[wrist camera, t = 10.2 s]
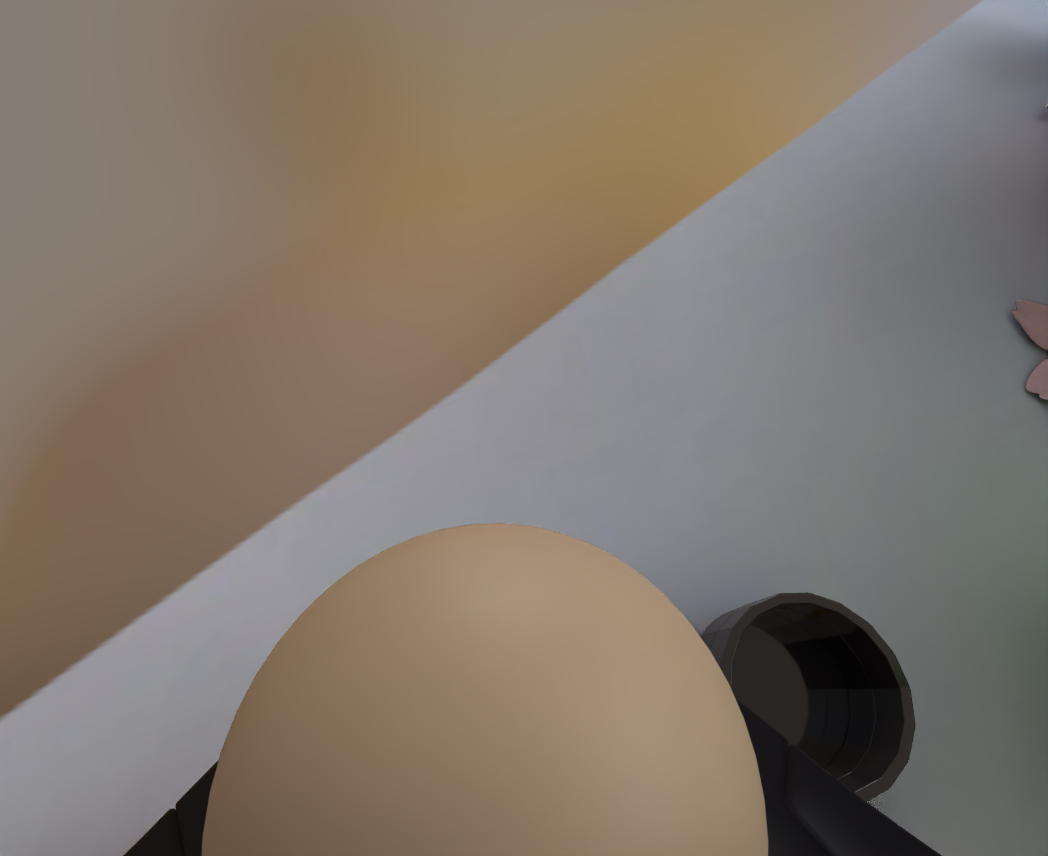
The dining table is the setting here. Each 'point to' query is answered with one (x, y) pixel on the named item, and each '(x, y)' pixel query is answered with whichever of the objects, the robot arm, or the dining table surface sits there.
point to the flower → (1044, 329)
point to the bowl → (820, 684)
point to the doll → (488, 715)
